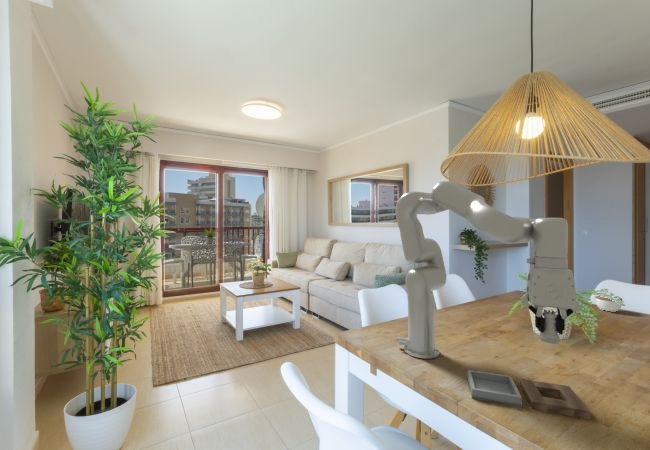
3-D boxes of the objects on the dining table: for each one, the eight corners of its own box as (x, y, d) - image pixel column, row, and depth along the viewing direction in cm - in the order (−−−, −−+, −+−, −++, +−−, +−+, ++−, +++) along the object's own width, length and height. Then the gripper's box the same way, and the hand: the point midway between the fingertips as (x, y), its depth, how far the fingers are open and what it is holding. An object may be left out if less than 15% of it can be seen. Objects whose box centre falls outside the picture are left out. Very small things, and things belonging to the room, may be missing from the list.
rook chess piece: (551, 337, 82) (551, 308, 82) (564, 344, 78) (564, 313, 78) (535, 337, 82) (535, 308, 82) (547, 344, 78) (548, 313, 78)
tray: (472, 398, 81) (472, 389, 81) (467, 377, 92) (467, 369, 92) (521, 407, 77) (521, 397, 77) (510, 384, 88) (510, 376, 88)
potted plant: (591, 307, 169) (590, 291, 169) (614, 309, 166) (613, 292, 166) (603, 313, 158) (602, 295, 158) (627, 314, 156) (627, 296, 156)
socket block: (531, 409, 76) (531, 401, 76) (519, 385, 87) (519, 378, 87) (590, 419, 72) (590, 411, 72) (569, 393, 83) (569, 386, 83)
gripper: (517, 263, 79) (517, 332, 79) (595, 267, 73) (595, 341, 74) (511, 260, 86) (510, 323, 86) (581, 263, 81) (581, 330, 81)
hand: (549, 330), depth 80 cm, fingers closed on rook chess piece, 3 cm apart
